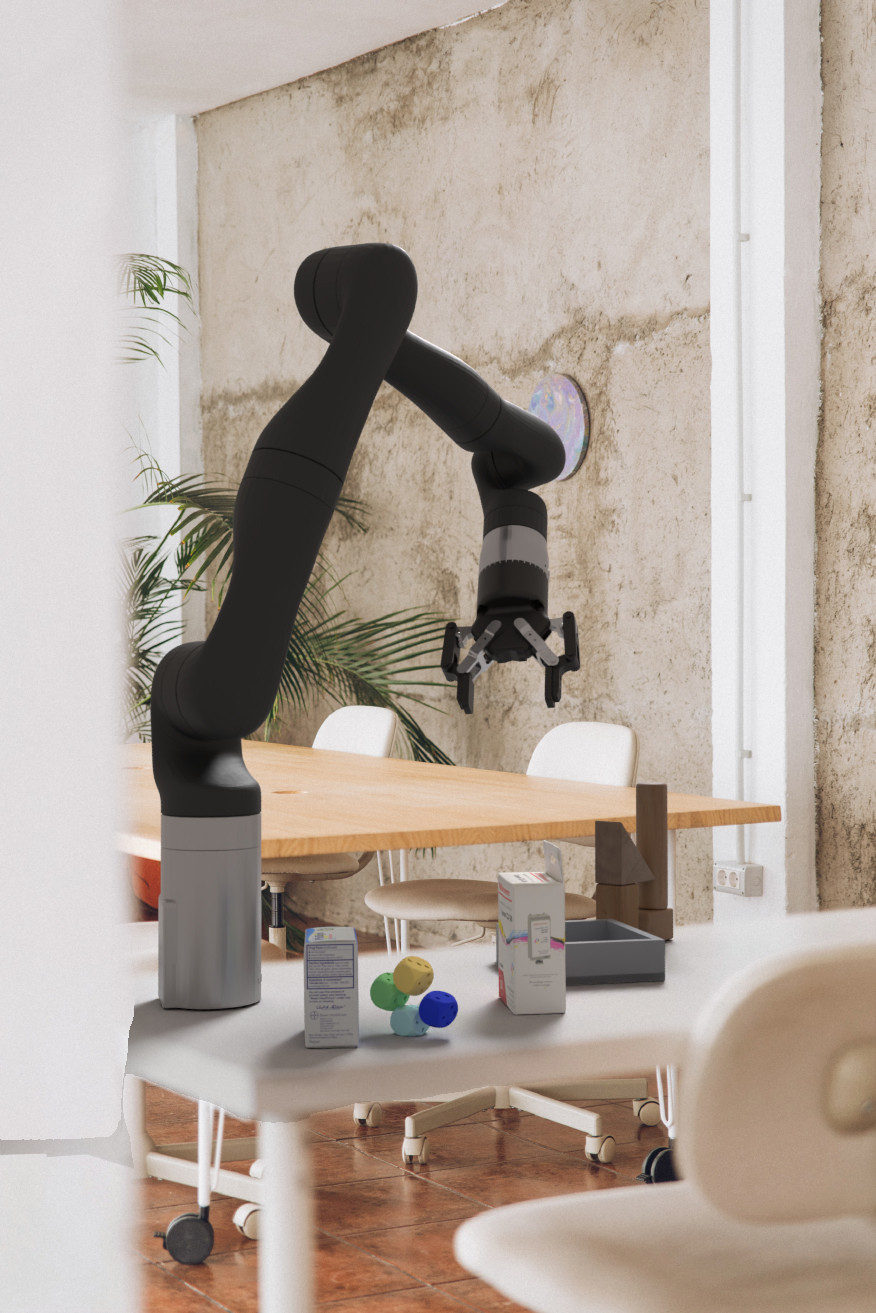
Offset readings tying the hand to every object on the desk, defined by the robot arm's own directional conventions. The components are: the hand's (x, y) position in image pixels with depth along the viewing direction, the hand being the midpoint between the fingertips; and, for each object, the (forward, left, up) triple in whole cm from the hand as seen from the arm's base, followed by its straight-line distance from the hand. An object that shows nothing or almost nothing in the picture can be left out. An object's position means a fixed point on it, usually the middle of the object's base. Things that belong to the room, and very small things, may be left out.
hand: (508, 707), depth 162 cm
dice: (-16, -25, -27) cm, 40 cm away
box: (+7, 0, -27) cm, 28 cm away
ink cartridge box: (-3, -16, -27) cm, 32 cm away
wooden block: (+19, +15, -27) cm, 37 cm away
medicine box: (-23, -25, -27) cm, 43 cm away
